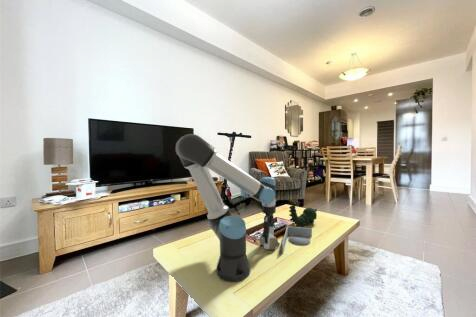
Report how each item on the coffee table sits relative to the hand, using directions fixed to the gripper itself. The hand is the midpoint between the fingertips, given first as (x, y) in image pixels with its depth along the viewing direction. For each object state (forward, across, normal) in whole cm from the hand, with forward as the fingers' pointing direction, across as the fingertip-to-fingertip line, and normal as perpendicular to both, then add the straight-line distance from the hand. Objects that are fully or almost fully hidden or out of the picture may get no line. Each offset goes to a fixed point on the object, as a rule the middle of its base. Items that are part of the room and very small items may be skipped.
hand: (269, 243), depth 113 cm
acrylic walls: (+2, +8, -15) cm, 17 cm away
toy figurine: (+2, +41, -18) cm, 44 cm away
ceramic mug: (+2, +1, -1) cm, 3 cm away
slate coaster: (+2, +13, -16) cm, 20 cm away
